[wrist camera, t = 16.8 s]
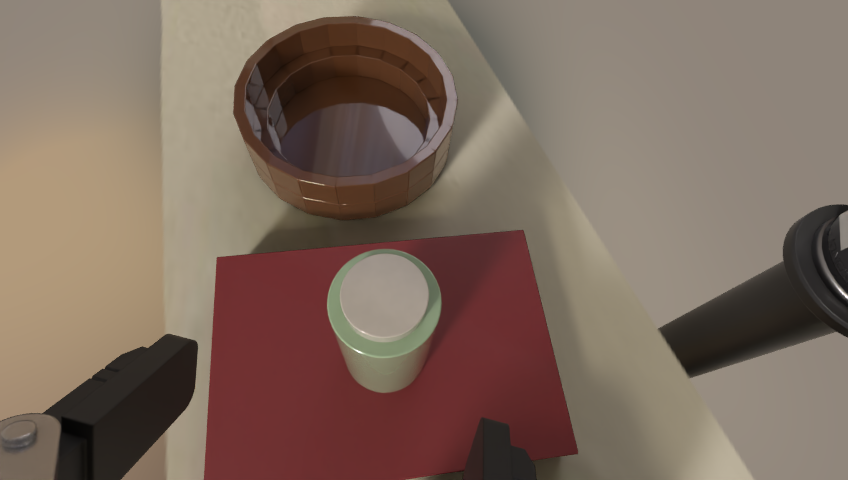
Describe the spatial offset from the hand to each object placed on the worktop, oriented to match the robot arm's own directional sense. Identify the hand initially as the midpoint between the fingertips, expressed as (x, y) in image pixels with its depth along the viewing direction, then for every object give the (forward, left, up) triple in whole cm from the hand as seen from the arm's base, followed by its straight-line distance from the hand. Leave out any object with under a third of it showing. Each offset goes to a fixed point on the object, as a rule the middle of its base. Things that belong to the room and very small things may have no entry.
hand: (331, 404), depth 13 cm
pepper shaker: (-2, -5, -15) cm, 15 cm away
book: (-2, -5, -18) cm, 18 cm away
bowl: (-1, -23, -18) cm, 29 cm away
